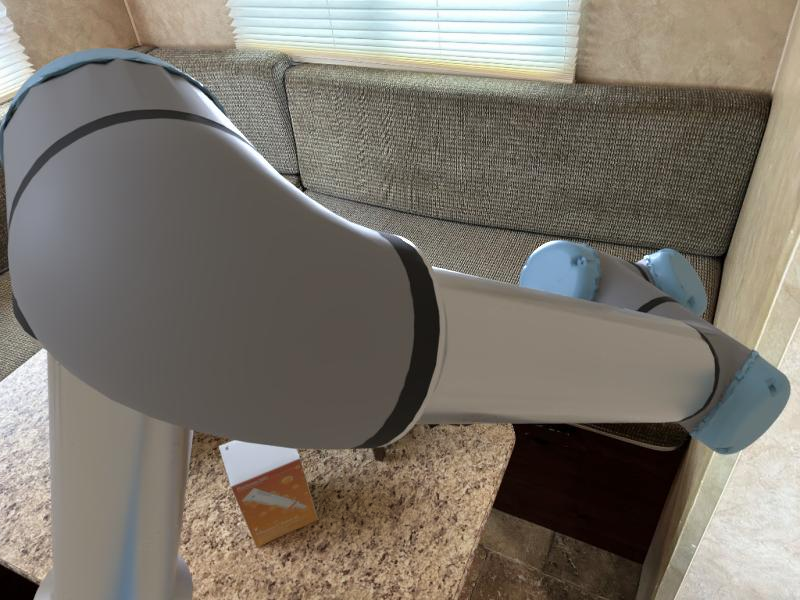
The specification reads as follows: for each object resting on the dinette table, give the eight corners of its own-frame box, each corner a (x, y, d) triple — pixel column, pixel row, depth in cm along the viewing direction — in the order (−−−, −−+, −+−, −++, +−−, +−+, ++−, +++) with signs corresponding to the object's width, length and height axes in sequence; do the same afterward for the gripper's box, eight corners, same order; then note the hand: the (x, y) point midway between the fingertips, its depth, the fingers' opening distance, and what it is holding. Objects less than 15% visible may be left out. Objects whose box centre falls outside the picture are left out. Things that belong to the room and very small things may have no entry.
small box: (256, 549, 73) (228, 488, 65) (244, 507, 78) (216, 444, 69) (320, 521, 75) (300, 457, 67) (304, 481, 80) (284, 418, 72)
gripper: (579, 415, 63) (433, 474, 79) (590, 318, 75) (460, 386, 90) (531, 371, 62) (391, 440, 77) (550, 278, 73) (424, 355, 88)
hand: (429, 411), depth 83 cm, fingers closed on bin, 3 cm apart
